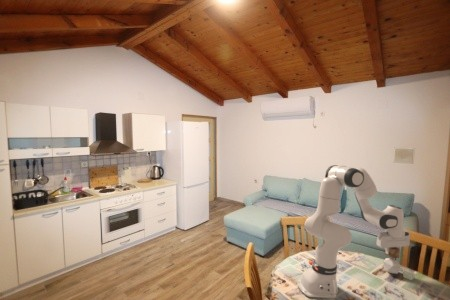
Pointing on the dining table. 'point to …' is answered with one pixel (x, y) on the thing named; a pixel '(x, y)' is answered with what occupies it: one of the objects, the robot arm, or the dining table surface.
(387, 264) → the die
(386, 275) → the dining table surface
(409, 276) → the sage block
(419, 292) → the dining table surface
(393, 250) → the walnut block
